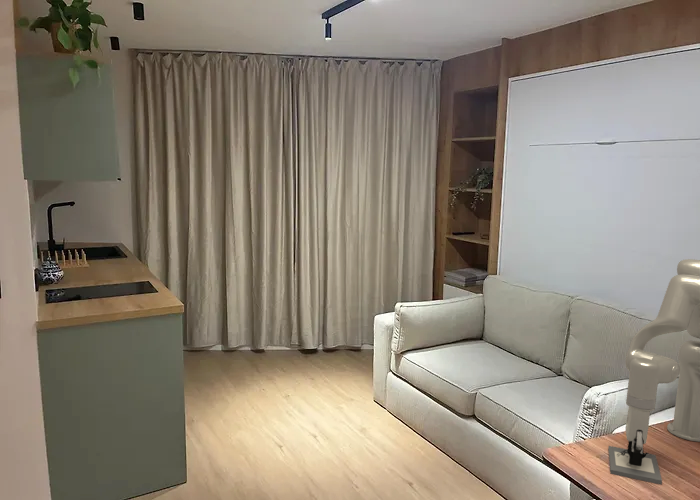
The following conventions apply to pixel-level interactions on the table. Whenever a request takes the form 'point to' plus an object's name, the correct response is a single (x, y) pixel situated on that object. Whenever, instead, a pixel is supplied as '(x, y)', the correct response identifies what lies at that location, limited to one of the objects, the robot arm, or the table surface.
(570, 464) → the table surface
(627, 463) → the creature
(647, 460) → the grey picture mat
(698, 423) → the robot arm
